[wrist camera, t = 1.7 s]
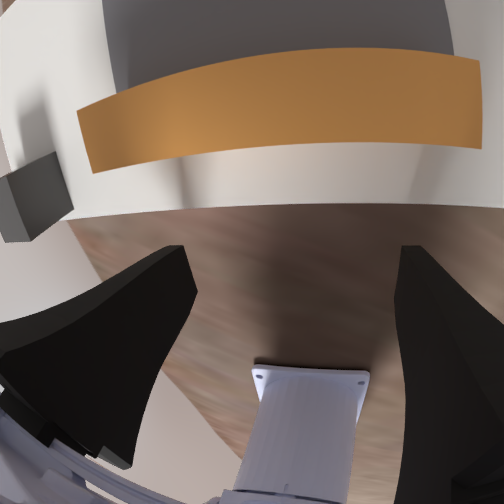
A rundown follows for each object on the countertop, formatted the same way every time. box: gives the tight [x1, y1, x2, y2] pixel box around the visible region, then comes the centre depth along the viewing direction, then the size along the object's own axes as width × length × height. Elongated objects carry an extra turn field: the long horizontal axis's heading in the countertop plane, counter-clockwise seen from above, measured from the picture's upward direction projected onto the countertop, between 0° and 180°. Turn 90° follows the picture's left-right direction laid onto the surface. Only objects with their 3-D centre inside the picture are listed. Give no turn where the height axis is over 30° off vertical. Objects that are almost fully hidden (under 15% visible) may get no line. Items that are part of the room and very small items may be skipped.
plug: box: [0, 151, 74, 243], centre depth 11 cm, size 4×3×3 cm
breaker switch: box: [76, 48, 483, 174], centre depth 7 cm, size 2×10×2 cm, turn 99°
